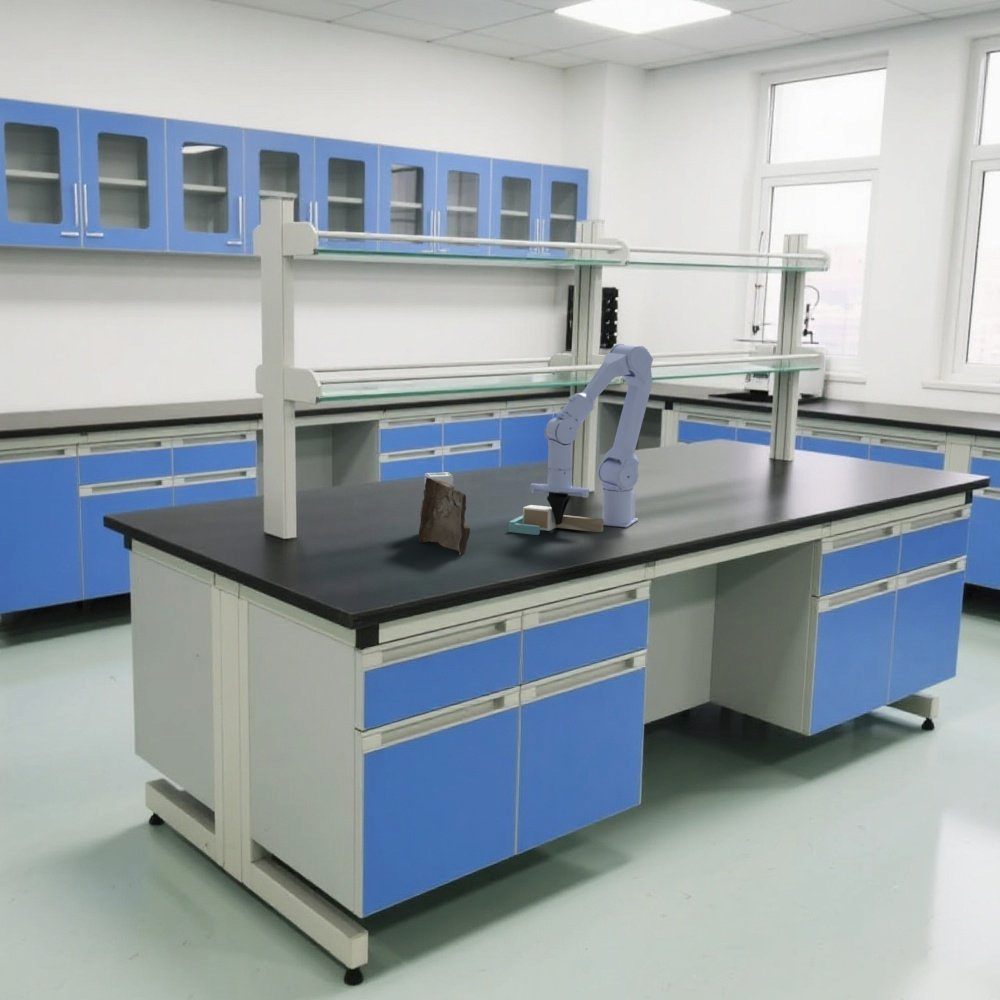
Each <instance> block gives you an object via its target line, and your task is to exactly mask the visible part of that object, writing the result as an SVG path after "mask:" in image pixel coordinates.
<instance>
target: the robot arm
mask: <svg viewBox="0 0 1000 1000" xmlns="http://www.w3.org/2000/svg"><path fill="white" fill-rule="evenodd" d="M653 361H654V359H653V357H652V355H651V354H650V352H649V350H648V349H647V348H646V347H644V346H642V345H632V344H631V345H629V344H624V343H616V344H615V345H613V346H612V347H611V348H610V350H609V352H608V353H606V354H605V355H604V357H603V362H602V363H601V365H600V366H599V368H598V369H597V370H596V372H595V373H594V375H593V376H592V377H591V379H590V381H589V382H588V384H587V385H586V387H585V388H584V389H583V391H582V392H578V393H574V395H570V396H569V397H568V398H567V399H568V402H567V403H566V404H565V405H564V407H563V408H562V409H561V411H558V412H557V414H556V417H554V418H551V419H549V420H548V422H547V423H546V425H545V428H543V434H544V437H545V439H546V440H547V446H548V447H547V448H548V450H547V483H535V482H534V483H533V482H532V483H531V484H530V486H529V492H530V493H533V494H534V493H538V494H539V493H540V494H548V495H547V497H546V500H547V501H548V504H549V505H550V506H549V507H551V508H552V511H553V514H554V518H555V523H556V525H559V524H561V523H562V518H563V515H565V511H566V508H567V506H568V505H569V502H570V501H571V499H572V497H580V498H584V499H585V498H588V497H590V496H589V495H590V488H586V487H581V486H580V487H579V486H575V485H572V473H573V472H572V471H573V470H572V465H573V462H572V461H573V442H574V441H575V440H576V439H577V438H578V436H579V435H578V434H579V429H580V426H581V425H582V424H583V422H584V421H585V420H586V419H587V418H588V417H589V415H590V414H591V413H592V411H593V410H594V408H595V406H594V401H595V400H596V399H597V398H598V397H599V396H600V394H602V392H603V391H604V390H605V389H606V388H607V387H608V385H610V383H611V382H612V381H613V380H614V379H615V378H619V377H623V379H624V380H625V382H626V383H627V386H628V387H627V390H626V394H625V399H624V403H623V406H622V410H621V414H620V418H619V420H618V425H617V430H616V433H615V437H614V442H613V445H612V447H611V448H610V449H608V451H607V452H605V456H604V457H603V460H602V461H601V463H600V464H599V466H598V468H597V476H598V479H599V480H600V481H601V482H602V484H601V485H602V508H601V509H602V510H601V513H602V514H601V519H603V526H608V527H610V526H612V527H619V528H628V527H630V526H631V525H633V524H634V523H637V521H639V518H637V517H636V515H635V514H636V494H635V492H634V487H635V485H637V483H638V480H639V463H640V461H639V459H638V457H637V455H636V453H635V452H636V449H637V448H636V447H637V443H638V441H639V436H640V433H641V428H642V425H643V422H644V421H643V420H644V418H645V413H646V409H647V405H648V402H649V397H650V393H651V390H652V386H653V376H652V374H653V373H652V365H653Z"/></svg>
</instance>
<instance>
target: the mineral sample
mask: <svg viewBox="0 0 1000 1000" xmlns="http://www.w3.org/2000/svg"><path fill="white" fill-rule="evenodd" d="M455 488H456V487H454V485H453V486H452V485H450V484H449V483H447V482H445V481H441V480H434V479H430V478H427V479H426V483H425V482H424V489H423V499H422V501H421V507H420V512H419V516H420V523H419V531H418V537H419V543H420V542H421V543H428V541H430V542H431V543H437V542H438V543H439V544H438V543H437V544H438V545H440V546H441V545H442V546H441V547H444V548H447V549H451V550H455V551H458V556H461V555H464V554H465V552H466V550H467V544H468V540H469V538H470V533H471V531H470V530H471V528H470V527H469V526H468V525H467V524H466V517H465V515H466V514H465V513H466V510H467V495H466V494H465V493H463V492H461V491H460V490H457V489H455ZM430 542H429V543H430Z"/></svg>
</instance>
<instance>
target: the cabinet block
mask: <svg viewBox="0 0 1000 1000" xmlns="http://www.w3.org/2000/svg"><path fill="white" fill-rule="evenodd" d="M522 515H523V524H527V525H536V526H540V531H548V532H549V531H552V530H555V529H557V528H556V523H555V518H554V514H553V511H552V508H551V506H546V505H545V506H544V505H535V504H529V505H526V506H523V507H522Z"/></svg>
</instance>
